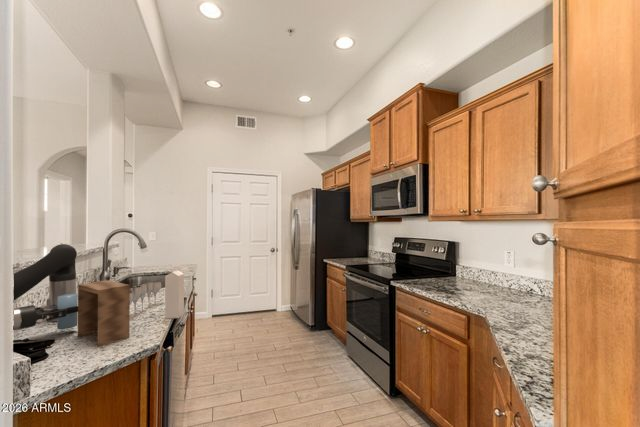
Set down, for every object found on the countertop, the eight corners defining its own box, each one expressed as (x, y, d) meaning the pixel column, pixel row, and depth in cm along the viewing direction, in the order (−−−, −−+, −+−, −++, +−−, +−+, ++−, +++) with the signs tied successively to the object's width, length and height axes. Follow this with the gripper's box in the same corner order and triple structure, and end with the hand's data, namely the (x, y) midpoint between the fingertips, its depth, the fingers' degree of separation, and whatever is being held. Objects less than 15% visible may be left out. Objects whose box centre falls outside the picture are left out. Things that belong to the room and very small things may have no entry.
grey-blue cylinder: (53, 330, 114) (54, 298, 114) (62, 324, 120) (62, 294, 120) (72, 328, 116) (73, 296, 116) (80, 323, 122) (80, 293, 122)
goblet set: (130, 321, 132) (130, 290, 132) (117, 321, 132) (117, 290, 132) (163, 303, 160) (163, 278, 160) (152, 303, 160) (152, 278, 160)
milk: (184, 314, 141) (184, 266, 141) (178, 318, 135) (179, 268, 135) (170, 314, 140) (171, 266, 141) (164, 318, 134) (165, 268, 135)
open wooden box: (98, 346, 105) (98, 290, 105) (77, 336, 115) (78, 284, 115) (129, 337, 113) (129, 284, 113) (107, 328, 123) (107, 280, 123)
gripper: (11, 325, 110) (68, 313, 124) (21, 333, 102) (82, 320, 116) (11, 305, 110) (69, 295, 124) (22, 311, 102) (82, 300, 116)
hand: (75, 307), depth 120 cm, fingers closed on grey-blue cylinder, 6 cm apart
